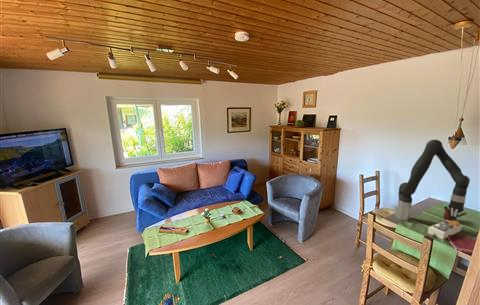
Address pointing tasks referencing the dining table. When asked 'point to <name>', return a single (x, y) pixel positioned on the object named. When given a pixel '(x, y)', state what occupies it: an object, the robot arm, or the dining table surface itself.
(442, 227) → the rocker
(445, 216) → the mug
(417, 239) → the dining table surface
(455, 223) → the rocker
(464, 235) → the dining table surface
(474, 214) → the dining table surface
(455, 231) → the power strip
